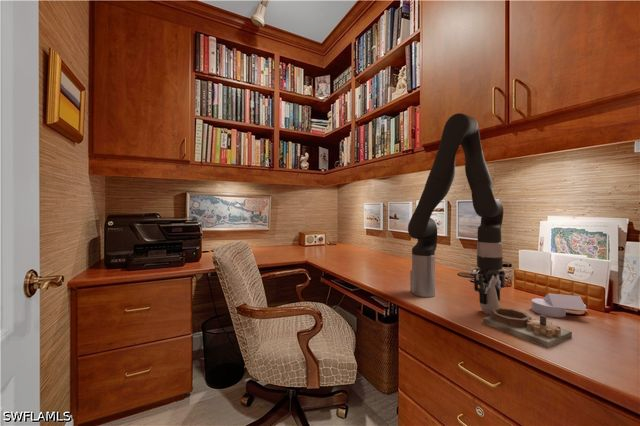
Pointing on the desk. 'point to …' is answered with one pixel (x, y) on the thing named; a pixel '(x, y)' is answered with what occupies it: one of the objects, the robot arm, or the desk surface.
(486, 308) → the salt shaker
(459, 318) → the desk surface
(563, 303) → the wedge on round base
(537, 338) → the peg board
